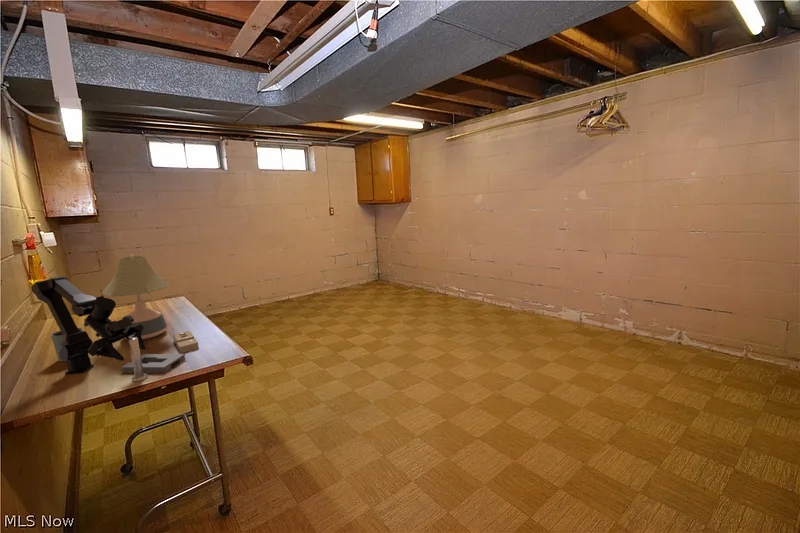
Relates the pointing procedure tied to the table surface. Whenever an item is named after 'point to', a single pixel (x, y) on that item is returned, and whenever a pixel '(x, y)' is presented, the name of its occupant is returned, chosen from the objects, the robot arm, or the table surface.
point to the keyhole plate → (156, 362)
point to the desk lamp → (139, 292)
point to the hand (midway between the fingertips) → (134, 354)
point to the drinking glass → (59, 342)
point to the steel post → (136, 360)
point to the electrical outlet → (185, 341)
